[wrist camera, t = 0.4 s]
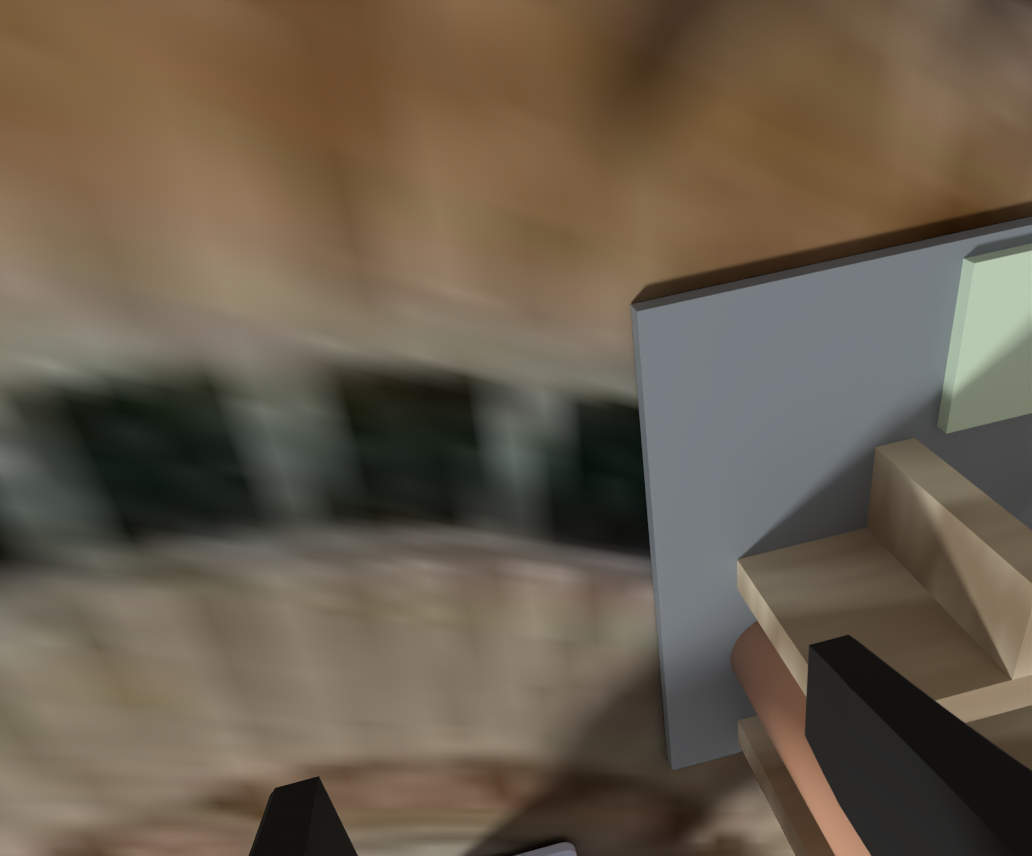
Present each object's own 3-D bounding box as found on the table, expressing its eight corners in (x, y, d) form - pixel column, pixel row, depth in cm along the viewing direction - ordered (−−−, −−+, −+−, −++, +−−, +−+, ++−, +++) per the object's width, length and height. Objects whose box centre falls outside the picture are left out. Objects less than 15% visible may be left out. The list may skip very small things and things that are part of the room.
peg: (827, 670, 26) (993, 910, 19) (730, 695, 26) (864, 947, 19) (833, 596, 24) (1019, 831, 17) (730, 622, 24) (877, 872, 17)
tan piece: (1065, 654, 28) (1222, 801, 23) (737, 741, 27) (826, 915, 22) (1153, 380, 22) (1392, 496, 17) (736, 480, 21) (857, 634, 16)
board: (1066, 652, 29) (1077, 661, 29) (667, 758, 28) (672, 770, 27) (1219, 175, 20) (1238, 179, 19) (630, 304, 18) (636, 311, 18)
